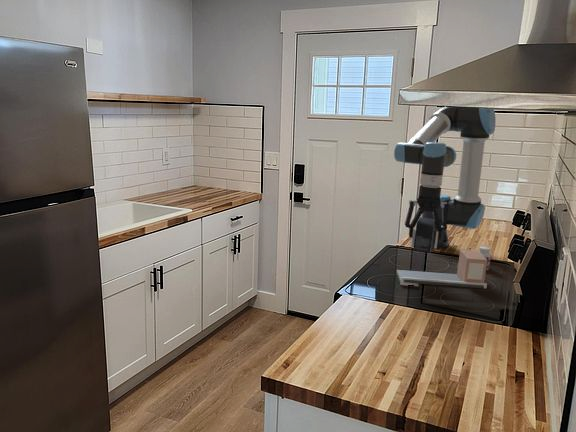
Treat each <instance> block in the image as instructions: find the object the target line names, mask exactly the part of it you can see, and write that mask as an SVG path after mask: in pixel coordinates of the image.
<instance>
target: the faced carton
mask: <svg viewBox="0 0 576 432" xmlns="http://www.w3.org/2000/svg"><path fill="white" fill-rule="evenodd" d="M486 266H487V259H486V258H485V257H484V256H483V255H482V254H481V253H480V252H479V250H476V251H475V250H465V249H463V250H462V249H460V250H459V257H458V263H457V270H456V274H457V276H458V278H459V279H460V280H461V281H462V282H476V283H485V279H486V271H487V270H486Z"/></svg>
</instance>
